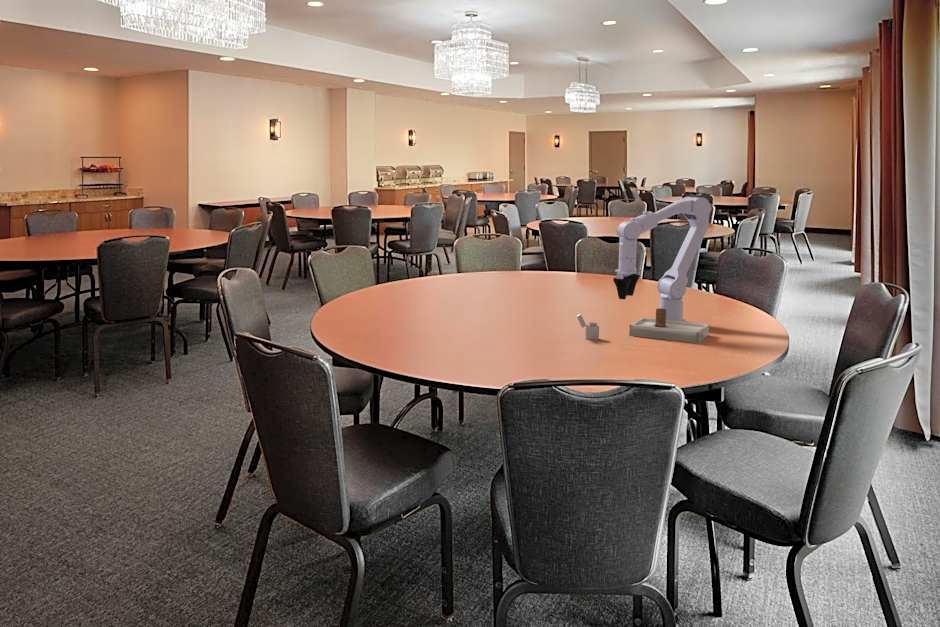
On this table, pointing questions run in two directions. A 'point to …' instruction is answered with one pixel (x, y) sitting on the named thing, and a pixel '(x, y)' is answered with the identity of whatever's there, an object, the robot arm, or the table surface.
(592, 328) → the lighter
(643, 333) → the box
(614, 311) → the table surface
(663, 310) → the peg
